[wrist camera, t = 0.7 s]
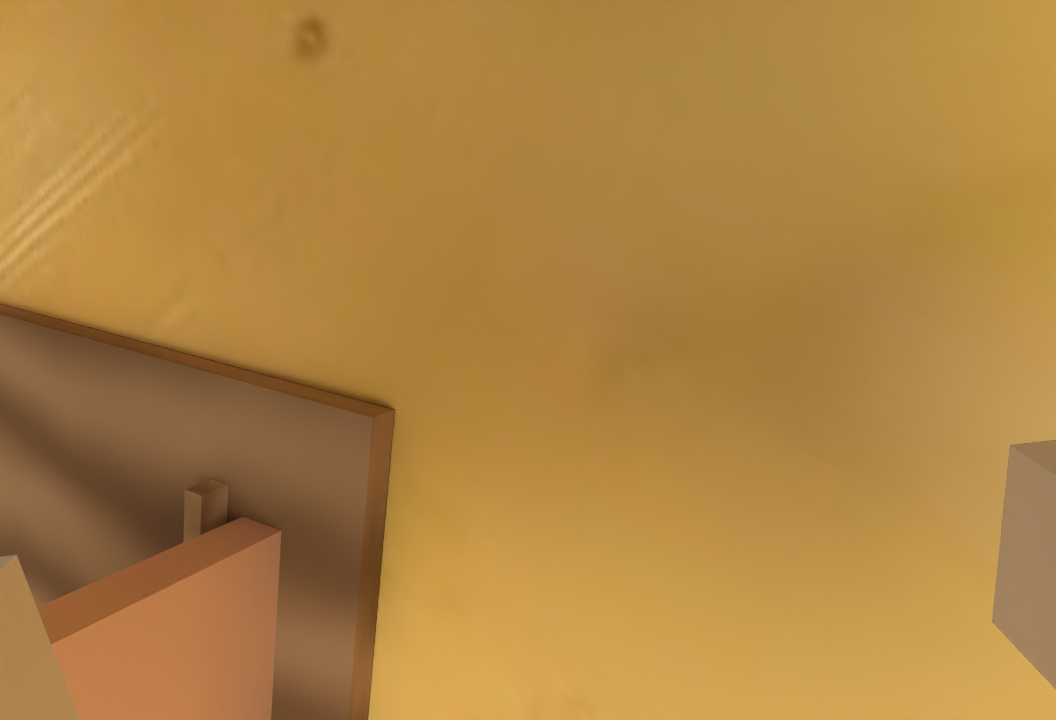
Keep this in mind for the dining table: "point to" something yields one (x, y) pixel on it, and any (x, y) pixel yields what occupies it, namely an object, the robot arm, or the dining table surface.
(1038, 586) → the robot arm
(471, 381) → the dining table surface
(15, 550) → the board
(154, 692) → the tile
